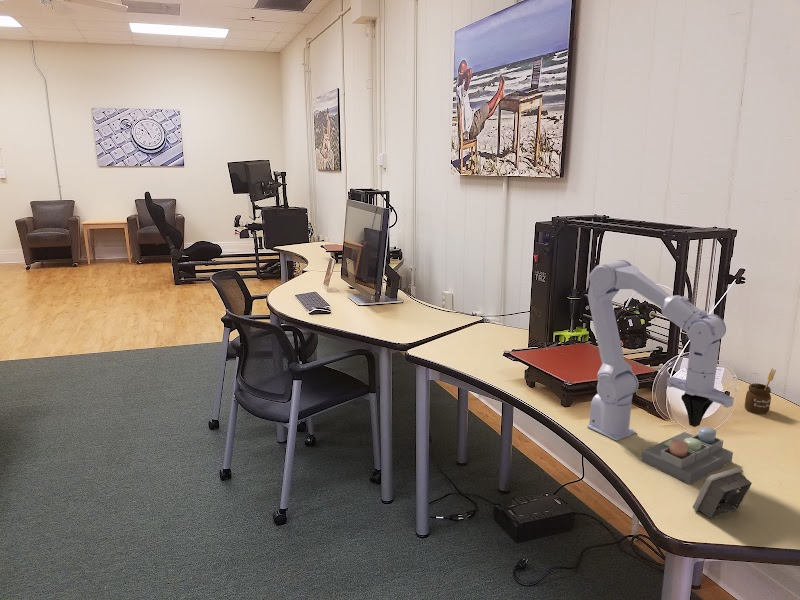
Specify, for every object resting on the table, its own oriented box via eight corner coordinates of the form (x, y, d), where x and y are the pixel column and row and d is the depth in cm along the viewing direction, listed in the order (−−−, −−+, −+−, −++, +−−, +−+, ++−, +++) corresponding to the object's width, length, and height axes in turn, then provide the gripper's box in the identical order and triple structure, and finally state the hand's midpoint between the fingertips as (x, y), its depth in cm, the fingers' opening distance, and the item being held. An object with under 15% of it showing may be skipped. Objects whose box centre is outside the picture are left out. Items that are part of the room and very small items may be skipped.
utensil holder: (739, 406, 165) (745, 366, 162) (760, 405, 166) (766, 365, 163) (752, 415, 160) (759, 374, 157) (775, 414, 160) (781, 373, 157)
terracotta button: (665, 452, 133) (667, 442, 132) (675, 447, 134) (676, 438, 134) (680, 458, 130) (681, 449, 129) (690, 454, 132) (691, 444, 131)
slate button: (694, 438, 138) (695, 429, 138) (703, 434, 140) (704, 425, 140) (709, 444, 136) (710, 435, 135) (718, 440, 137) (719, 431, 137)
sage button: (679, 449, 136) (681, 440, 135) (689, 445, 138) (690, 436, 137) (694, 456, 133) (696, 446, 132) (703, 452, 135) (705, 442, 134)
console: (641, 460, 137) (643, 443, 136) (683, 441, 146) (685, 424, 145) (689, 484, 128) (691, 465, 126) (731, 461, 136) (734, 444, 135)
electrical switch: (723, 499, 122) (733, 461, 119) (745, 514, 118) (756, 475, 115) (690, 510, 119) (699, 471, 116) (712, 526, 114) (722, 487, 111)
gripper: (661, 363, 135) (655, 417, 138) (723, 383, 123) (715, 442, 126) (679, 357, 138) (673, 410, 142) (742, 376, 126) (733, 433, 130)
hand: (694, 424), depth 134 cm, fingers closed
